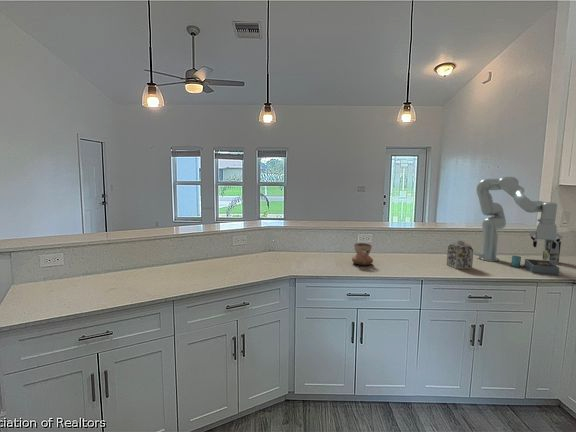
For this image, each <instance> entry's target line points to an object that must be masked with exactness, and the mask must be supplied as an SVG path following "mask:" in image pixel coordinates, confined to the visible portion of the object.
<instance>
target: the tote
mask: <svg viewBox="0 0 576 432" xmlns="http://www.w3.org/2000/svg"><path fill="white" fill-rule="evenodd" d="M538 262H546V263H548V264H550V265H549V267H548V266H537V263H538ZM524 267H525V268H526V269H527V270H528V271H529V272H530V273H532V274H537V273H538V274H540V275H548V276H549V275H550V276H559V274H560V267H559V266H558V265H557V264H553V263H552V262H551V261H545V260H543V259H542V260H541V259H533V258H532V259H531V258H524ZM538 274H537V275H538Z"/></svg>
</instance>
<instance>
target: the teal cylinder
mask: <svg viewBox="0 0 576 432" xmlns="http://www.w3.org/2000/svg"><path fill="white" fill-rule="evenodd" d="M521 260H522V257H521V256H520V255H512V256H511V262H510V263H511V265H510V266H511V267H512V268H520V267H521Z"/></svg>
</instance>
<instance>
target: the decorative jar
mask: <svg viewBox="0 0 576 432" xmlns="http://www.w3.org/2000/svg"><path fill="white" fill-rule="evenodd" d="M473 262H474V249H473V247H472V245H471V244H468V243H466V242H465V241H464V240H457V241H456V242H452V243H450V244H449V245H448V246H447V256H446V265H447V266H449V267H451V268H453V269H455V270H472V269H473Z"/></svg>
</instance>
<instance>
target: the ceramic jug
mask: <svg viewBox="0 0 576 432" xmlns="http://www.w3.org/2000/svg"><path fill="white" fill-rule="evenodd" d="M372 247H373V245H372V244H369V243H365V242H355V243H354V250H355V251H354V252H355V253H356V254H355V255H354V256H352V258H351V261H352V263H354V264H355V265H357V264H358V266H369V265H372V264H373V262H374V259H373V258H372V257H371V255H370V253H371V250H372Z"/></svg>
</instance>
